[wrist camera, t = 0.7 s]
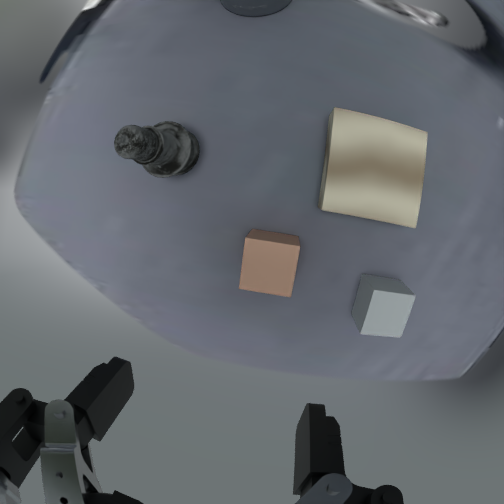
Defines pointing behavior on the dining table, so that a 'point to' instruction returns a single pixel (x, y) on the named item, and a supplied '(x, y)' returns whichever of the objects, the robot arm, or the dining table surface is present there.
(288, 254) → the terracotta cube
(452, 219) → the dining table surface
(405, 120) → the dining table surface
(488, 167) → the dining table surface
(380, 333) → the grey cube
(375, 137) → the birch block
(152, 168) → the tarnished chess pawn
